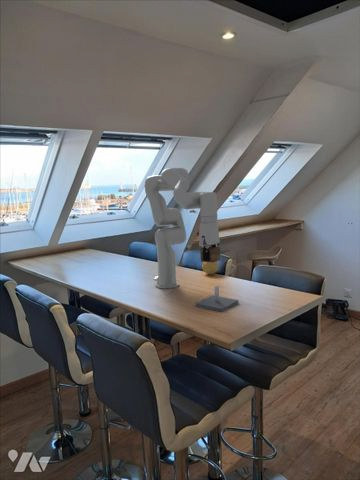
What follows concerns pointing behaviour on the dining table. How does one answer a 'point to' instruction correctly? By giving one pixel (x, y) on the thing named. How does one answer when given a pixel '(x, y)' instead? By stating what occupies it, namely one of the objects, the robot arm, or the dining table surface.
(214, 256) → the wooden block stack
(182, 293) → the dining table surface
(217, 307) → the stand
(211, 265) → the stress ball
